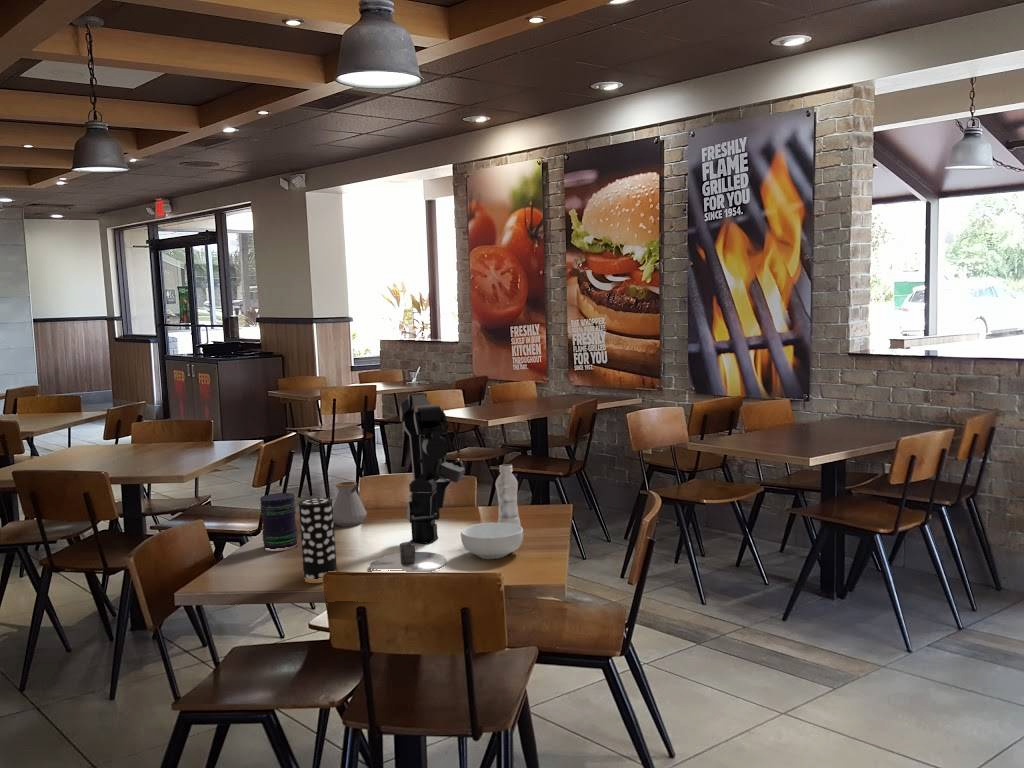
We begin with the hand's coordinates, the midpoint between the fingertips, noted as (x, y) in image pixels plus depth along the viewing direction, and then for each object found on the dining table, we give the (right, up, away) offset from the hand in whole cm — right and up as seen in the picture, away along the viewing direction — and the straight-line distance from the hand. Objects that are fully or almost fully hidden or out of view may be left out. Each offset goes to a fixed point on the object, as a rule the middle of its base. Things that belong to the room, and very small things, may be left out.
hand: (434, 512), depth 242 cm
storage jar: (-47, -14, +23) cm, 54 cm away
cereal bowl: (+15, -12, +4) cm, 20 cm away
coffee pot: (-29, -11, +44) cm, 54 cm away
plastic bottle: (+20, -10, +27) cm, 34 cm away
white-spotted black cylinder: (-28, -16, -10) cm, 34 cm away
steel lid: (-7, -14, -2) cm, 16 cm away
